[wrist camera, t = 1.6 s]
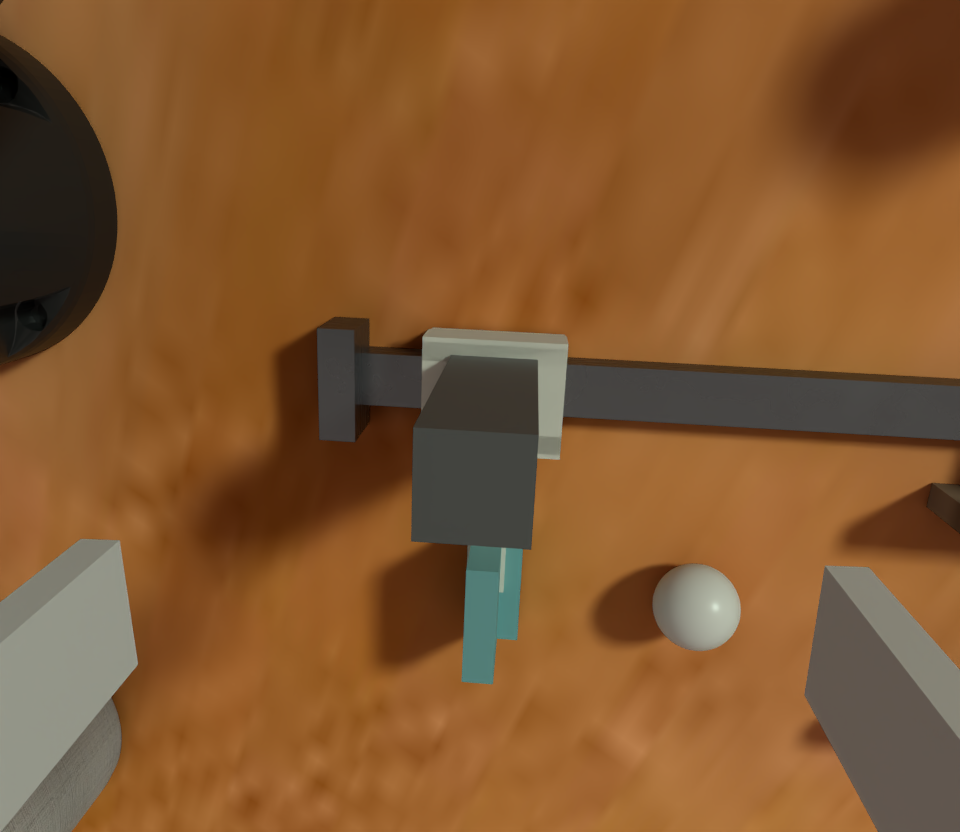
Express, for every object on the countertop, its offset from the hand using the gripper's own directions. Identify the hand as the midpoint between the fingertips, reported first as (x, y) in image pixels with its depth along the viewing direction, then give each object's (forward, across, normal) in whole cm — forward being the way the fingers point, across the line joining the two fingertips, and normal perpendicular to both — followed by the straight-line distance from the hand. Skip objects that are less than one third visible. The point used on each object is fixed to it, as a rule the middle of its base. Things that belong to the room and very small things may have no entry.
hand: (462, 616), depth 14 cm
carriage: (+21, 0, -6) cm, 22 cm away
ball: (+19, +9, -11) cm, 24 cm away
